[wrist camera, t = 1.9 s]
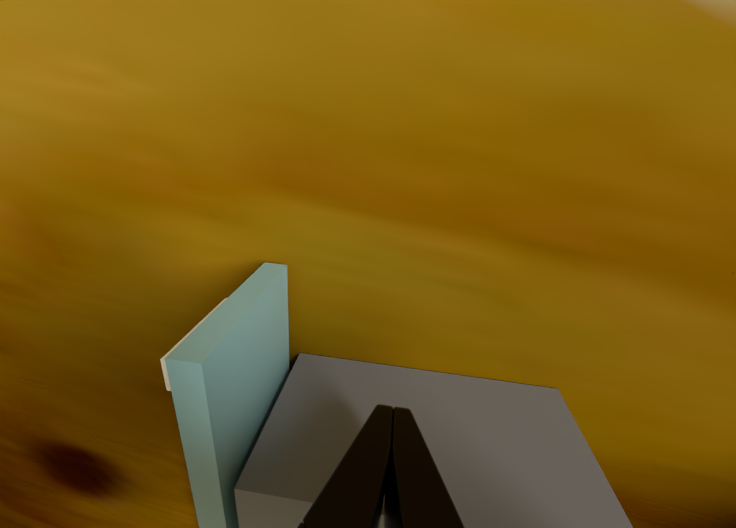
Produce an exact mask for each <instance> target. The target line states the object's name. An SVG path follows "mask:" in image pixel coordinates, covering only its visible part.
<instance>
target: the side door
mask: <svg viewBox="0 0 736 528" xmlns="http://www.w3.org/2000/svg"><path fill="white" fill-rule="evenodd" d="M160 361H161V366H162V371H163V375H164V380H165V385H166V389H167V391H171V392H172V397H173V402H174V407H175V412H176V417H177V421H178V426H179V431H180V436H181V441H182V446H183V451H184V456H185V461H186V466H187V470H188V475H189V480H190V485H191V490H192V495H193V500H194V505H195V510H196V515H197V519H198V524H199V528H239V524H238V516H237V508H236V501H235V493H234V488H235V486H236V484H237V482H238V480H239V477H240V475H241V473H242V471H243V469H244V467H245V465H246V463H247V461H248V459H249V457H250V455H251V453H252V451H253V449H254V446H255V444H256V442H257V440H258V438H259V436H260V434H261V432H262V430H263V428H264V426H265V424H266V422H267V420H268V418H269V416H270V413H271V411H272V409H273V407H274V405H275V403H276V401H277V399H278V397H279V395H280V393H281V391H282V389H283V387H284V385H285V383H286V380H287V378H288V376H289V374H290V367H289V325H288V283H287V265H283V264H274V263H266V262H265V263H264V264H262V265H261V266H260V267H259V268H258V269H257V270H256V271H255V272H254V273H253V274H252V275H251V276H250V277H249V278H248V279H247V280H246V281H245V282H244V283H243V284H242V285H241V286H240V287H238V288H237V289H236V290H235V291H234V292H233V293H232V294H231V295H230V296H229V297H228V298H225V299H224V300H223V301H221V302H220V303H219V304H218V305H217V306H216V307H215V308H214V309H213V310H212V311H211V312H210V313H209V314H208V315H207V316H206V317H205V318H204V319H202V320H201V321H200V322H199V323H198V324H197V325H196V326H195V327H194V328H193V329H192V330H191V331H190V332H189V333H188V334H187V335H186V336H185V337H183V338H182V339H181V340H180V341H179V342H178V343H177V344H176V345H175V346H174V347H173V348H172V349H171V350H170V351H169V352H168V353H167V354H166V355H164V356H163V357H162V358H161V359H160Z"/></svg>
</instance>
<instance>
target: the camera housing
mask: <svg viewBox="0 0 736 528" xmlns="http://www.w3.org/2000/svg"><path fill="white" fill-rule="evenodd" d="M378 404H383V405H390V406H392V407H393V409H394V407H403V408H409V409H410V410H411V412H412V414H413V416H414V418H415V420H416V423H417V425H418V427H419V429H420V431H421V434H422V436H423V438H424V440H425V442H426V444H427V447H428V449H429V451H430V453H431V455H432V457H433V460H434V462H435V464H436V466H437V468H438V471H439V473H440V475H441V477H442V479H443V481H444V484H445V486H446V488H447V490H448V492H449V495H450V497H451V499H452V501H453V503H454V505H455V508H456V510H457V512H458V514H459V516H460V518H461V521H462V523H463V525H464V527H465V528H633V527H632V525H631V523H630V521H629V519H628V517H627V516H626V514H625V512H624V510H623V508H622V506H621V505H620V503H619V501H618V499H617V497H616V495H615V493H614V492H613V490H612V488H611V486H610V484H609V482H608V481H607V479H606V477H605V475H604V473H603V471H602V469H601V468H600V466H599V464H598V462H597V460H596V458H595V457H594V455H593V453H592V451H591V449H590V447H589V445H588V444H587V442H586V440H585V438H584V436H583V434H582V433H581V431H580V429H579V427H578V425H577V423H576V421H575V420H574V418H573V416H572V414H571V412H570V410H569V409H568V407H567V405H566V403H565V401H564V399H563V398H562V396H561V394H560V392H559V390H558V389H556V388H548V387H541V386H534V385H527V384H520V383H512V382H505V381H498V380H491V379H484V378H476V377H469V376H462V375H455V374H448V373H440V372H433V371H426V370H419V369H412V368H404V367H397V366H390V365H383V364H376V363H368V362H361V361H354V360H347V359H340V358H332V357H325V356H318V355H311V354H304V353H300V354H299V356H298V358H297V360H296V362H295V364H294V366H293V368H292V370H291V372H290V374H289V376H288V378H287V380H286V383H285V385H284V387H283V389H282V391H281V393H280V395H279V397H278V399H277V401H276V403H275V405H274V407H273V409H272V411H271V413H270V416H269V418H268V420H267V422H266V424H265V426H264V428H263V430H262V432H261V434H260V436H259V438H258V440H257V442H256V444H255V446H254V449H253V451H252V453H251V455H250V457H249V459H248V461H247V463H246V465H245V467H244V469H243V471H242V473H241V475H240V477H239V480H238V482H237V484H236V486H235V488H234V493H235V501H236V508H237V516H238V524H239V528H297V527H298V525H299V524H300V523H301V522H303V518H304V516H305V515H306V513H307V512H308V510H309V509H310V507H311V506H312V504H313V502H314V501H315V499H316V498H317V496H318V495H319V493H320V492H321V490H322V489H323V487H324V485H325V484H326V482H327V481H328V479H329V478H330V476H331V475H332V473H333V472H334V470H335V468H336V467H337V465H338V464H339V462H340V461H341V459H342V458H343V456H344V454H345V453H346V451H347V450H348V448H349V447H350V445H351V444H352V442H353V441H354V439H355V437H356V436H357V434H358V433H359V431H360V430H361V428H362V427H363V425H364V424H365V422H366V420H367V419H368V417H369V416H370V414H371V413H372V411H373V410H374V408H375V407H376V405H378ZM384 497H385V495H384ZM379 528H384V502H383V508H382V514H381V519H380V524H379Z"/></svg>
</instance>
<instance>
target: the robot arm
mask: <svg viewBox="0 0 736 528" xmlns="http://www.w3.org/2000/svg"><path fill="white" fill-rule="evenodd" d="M384 495H385V497H384ZM383 502H384V528H465V527H464V525H463V523H462V521H461V518H460V516H459V514H458V512H457V510H456V508H455V505H454V503H453V501H452V499H451V497H450V495H449V492H448V490H447V488H446V486H445V484H444V481H443V479H442V477H441V475H440V473H439V471H438V468H437V466H436V464H435V462H434V460H433V457H432V455H431V453H430V451H429V449H428V447H427V444H426V442H425V440H424V438H423V436H422V434H421V431H420V429H419V427H418V425H417V423H416V420H415V418H414V416H413V414H412V412H411V410H410V409H409V408H403V407H394V409H393V407H392V406H390V405H383V404H378V405H376V407H375V408H374V410H373V411H372V413H371V414H370V416H369V417H368V419H367V420H366V422H365V424H364V425H363V427H362V428H361V430H360V431H359V433H358V434H357V436H356V437H355V439H354V441H353V442H352V444H351V445H350V447H349V448H348V450H347V451H346V453H345V454H344V456H343V458H342V459H341V461H340V462H339V464H338V465H337V467H336V468H335V470H334V472H333V473H332V475H331V476H330V478H329V479H328V481H327V482H326V484H325V485H324V487H323V489H322V490H321V492H320V493H319V495H318V496H317V498H316V499H315V501H314V502H313V504H312V506H311V507H310V509H309V510H308V512H307V513H306V515H305V516H304V518H303V522H301V523H300V524H299V525H298V527H297V528H379V524H380V519H381V514H382V508H383Z"/></svg>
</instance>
